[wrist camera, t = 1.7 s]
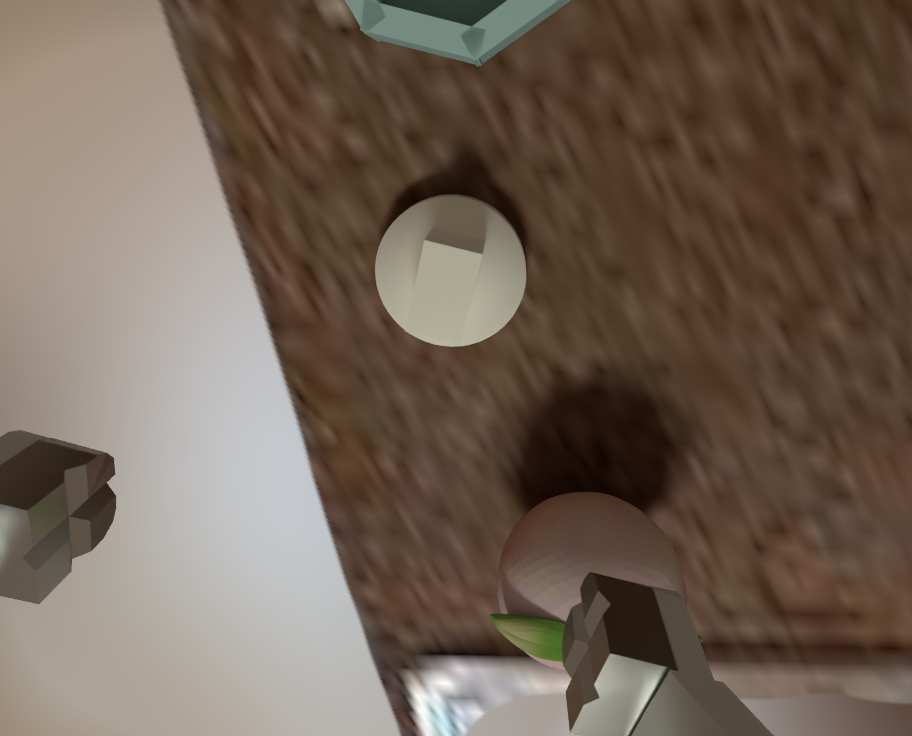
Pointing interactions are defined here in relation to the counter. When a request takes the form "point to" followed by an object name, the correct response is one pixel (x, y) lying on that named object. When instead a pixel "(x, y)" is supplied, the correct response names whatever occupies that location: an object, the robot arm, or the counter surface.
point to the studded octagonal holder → (452, 24)
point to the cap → (451, 270)
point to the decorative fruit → (574, 565)
